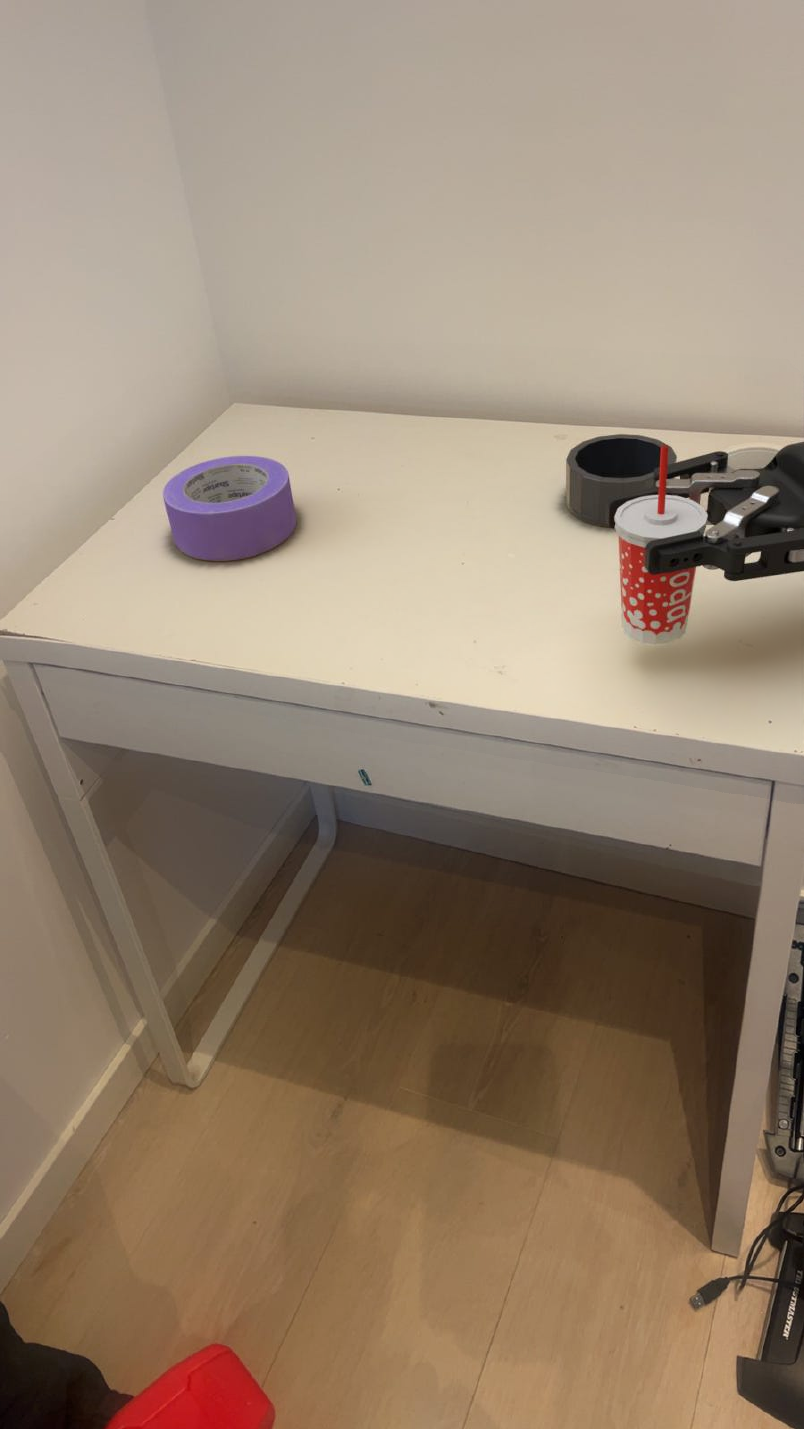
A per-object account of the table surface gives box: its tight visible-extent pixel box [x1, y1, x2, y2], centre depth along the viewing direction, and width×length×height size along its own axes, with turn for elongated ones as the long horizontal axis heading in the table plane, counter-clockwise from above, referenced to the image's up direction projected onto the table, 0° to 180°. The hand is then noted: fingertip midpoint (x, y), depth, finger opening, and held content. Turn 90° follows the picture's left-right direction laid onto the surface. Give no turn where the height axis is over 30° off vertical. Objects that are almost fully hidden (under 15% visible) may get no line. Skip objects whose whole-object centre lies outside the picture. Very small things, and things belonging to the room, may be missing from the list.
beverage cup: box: [614, 443, 708, 645], centre depth 71 cm, size 6×6×14 cm
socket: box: [565, 433, 678, 528], centre depth 95 cm, size 10×10×4 cm
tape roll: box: [162, 455, 297, 562], centre depth 97 cm, size 12×12×5 cm
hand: (627, 535), depth 70 cm, fingers closed on beverage cup, 6 cm apart
